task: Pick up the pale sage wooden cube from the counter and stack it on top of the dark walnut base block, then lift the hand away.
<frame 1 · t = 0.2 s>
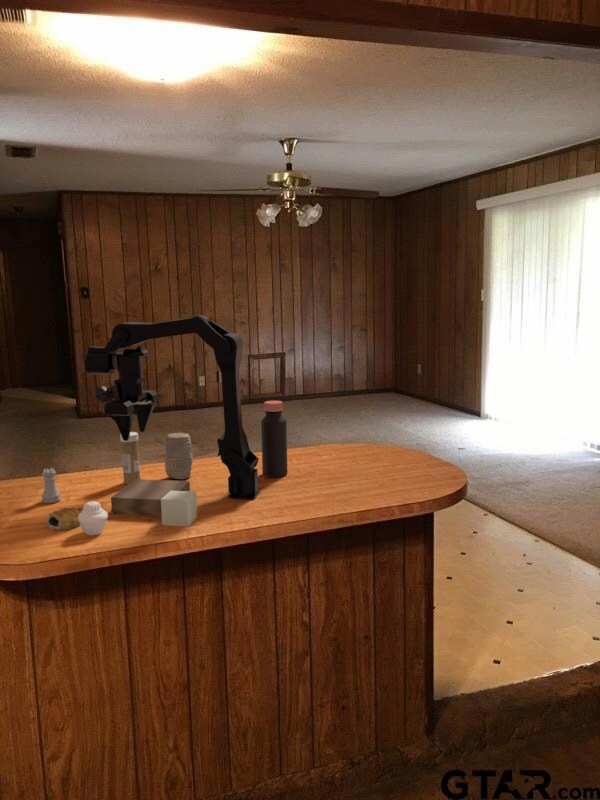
hand: (134, 436, 168), 14 cm above the table, fingers open, 9 cm apart
muffin: (94, 533, 144), on the table
pastry: (68, 525, 149), on the table
sprinkles bottle: (132, 483, 178), on the table
walnut base: (152, 505, 160), on the table
vinegar: (275, 474, 183), on the table
rook chess piece: (51, 501, 164), on the table
sage cube: (180, 521, 150), on the table
carving: (179, 478, 182), on the table
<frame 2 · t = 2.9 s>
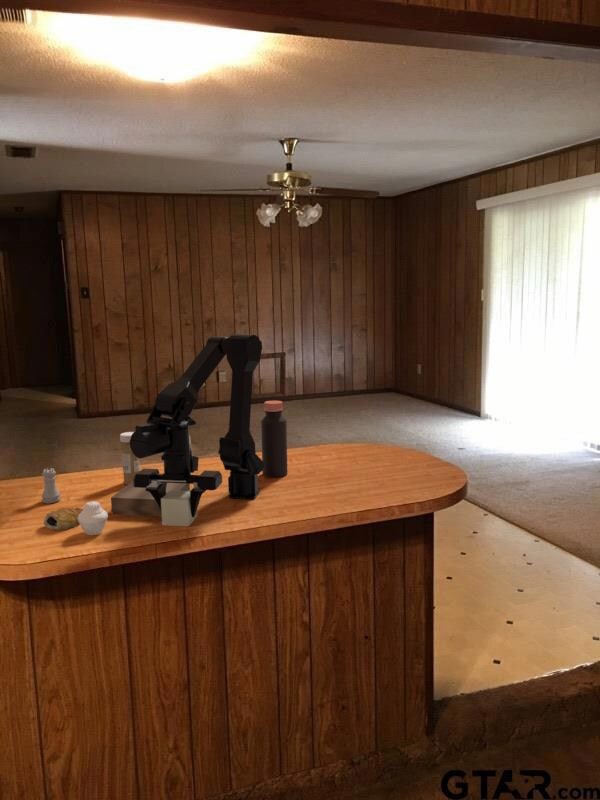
hand: (179, 516, 150), 1 cm above the table, fingers closed on sage cube, 6 cm apart
sage cube: (180, 520, 150), on the table, touching gripper
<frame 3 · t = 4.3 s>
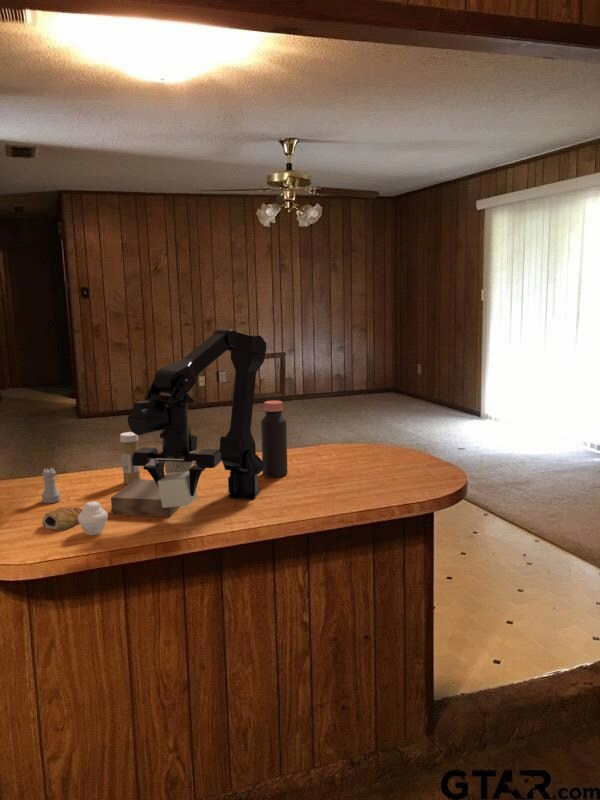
hand: (178, 495, 149), 6 cm above the table, fingers closed on sage cube, 6 cm apart
sage cube: (180, 502, 149), point 4 cm above the table, tilted 7°, touching gripper
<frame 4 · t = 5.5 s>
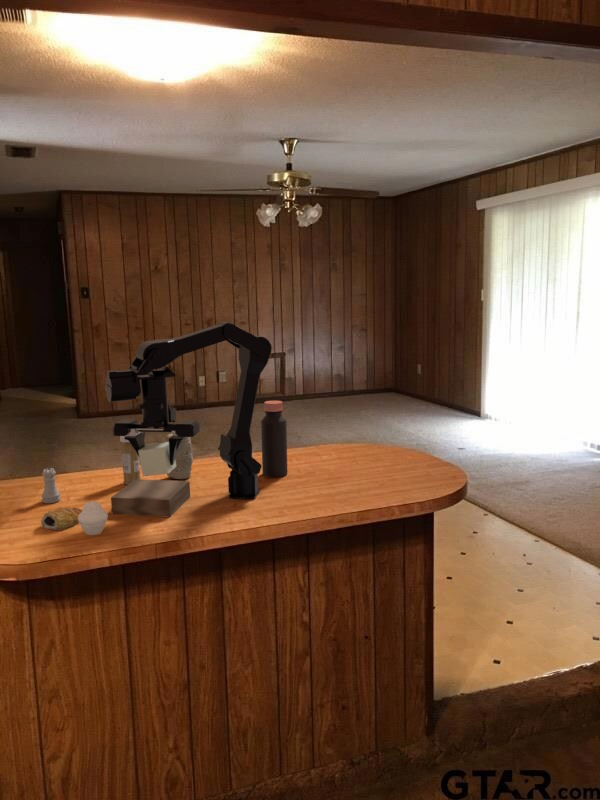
hand: (158, 464, 154), 11 cm above the table, fingers closed on sage cube, 6 cm apart
sage cube: (160, 471, 155), point 9 cm above the table, tilted 7°, touching gripper
when the fingers open (6 cm above the table, at t = 7.1 s): sage cube stays where it is, resting on walnut base.
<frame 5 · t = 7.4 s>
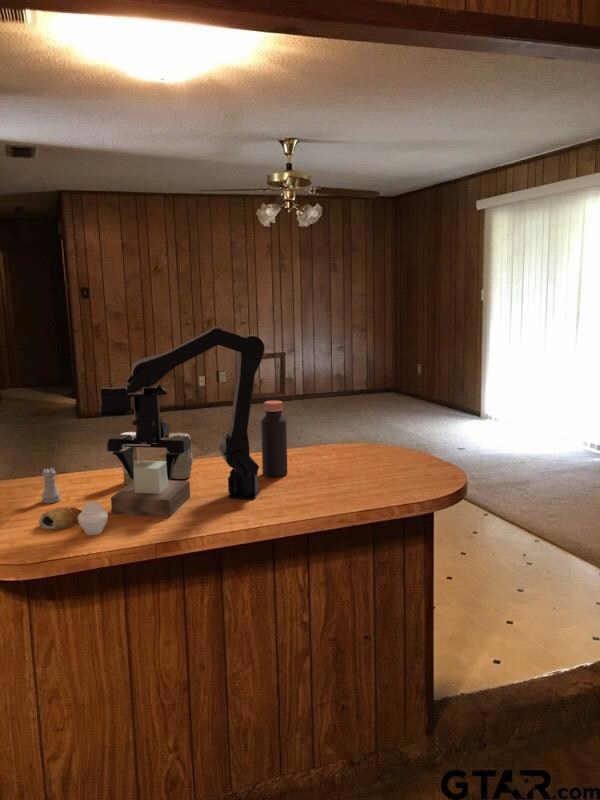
hand: (151, 478, 159), 6 cm above the table, fingers open, 9 cm apart
sage cube: (152, 489, 159), point 4 cm above the table, touching walnut base
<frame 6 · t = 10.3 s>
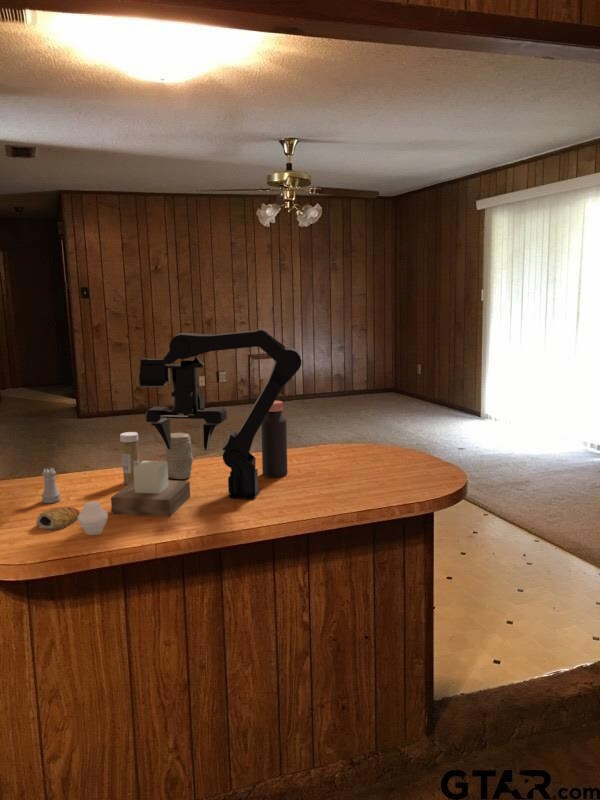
hand: (187, 449, 164), 12 cm above the table, fingers open, 9 cm apart
at the end: sage cube inside the target area on the walnut base (0.1 cm from its centre), point 4.0 cm above the walnut base's base; sage cube tilted 0°; the gripper is holding nothing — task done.
